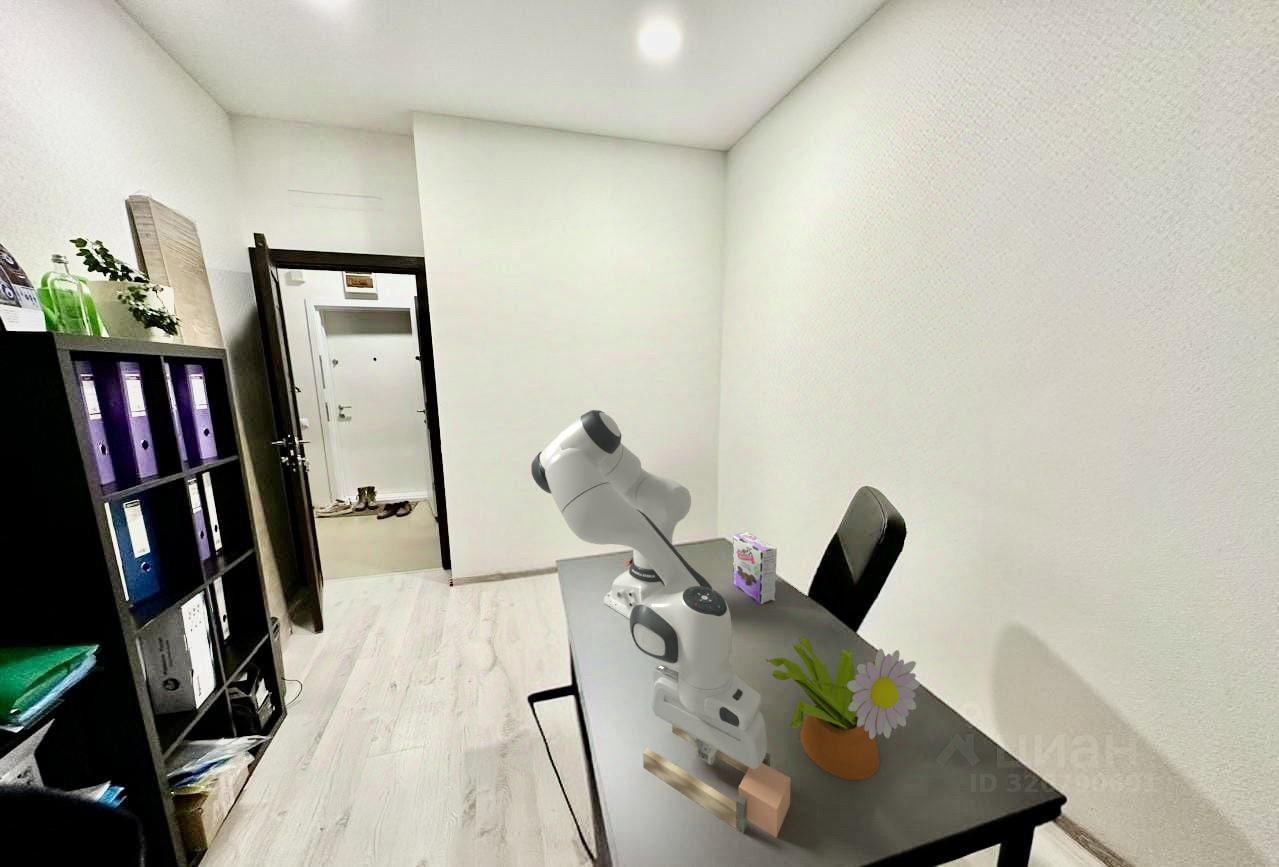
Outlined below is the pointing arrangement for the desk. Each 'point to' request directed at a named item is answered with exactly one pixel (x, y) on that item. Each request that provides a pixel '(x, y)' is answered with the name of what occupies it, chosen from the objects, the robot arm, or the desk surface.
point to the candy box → (754, 567)
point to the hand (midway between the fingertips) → (705, 758)
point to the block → (766, 797)
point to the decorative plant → (850, 708)
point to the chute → (702, 785)
